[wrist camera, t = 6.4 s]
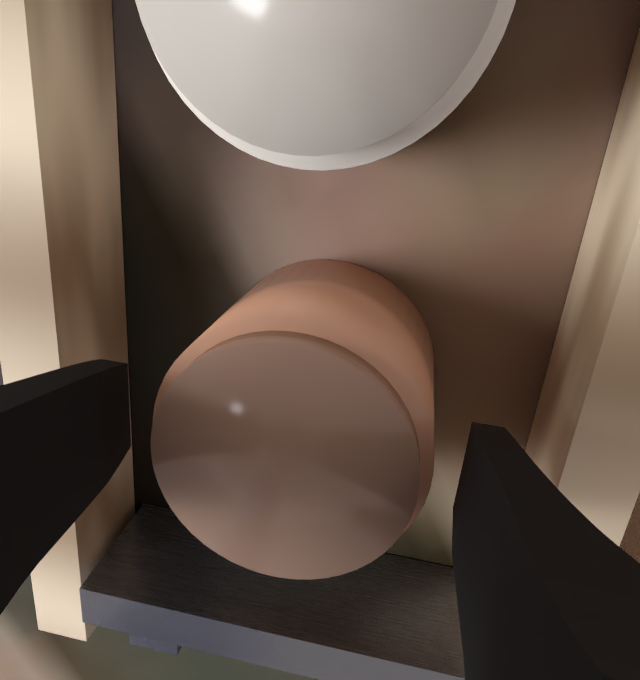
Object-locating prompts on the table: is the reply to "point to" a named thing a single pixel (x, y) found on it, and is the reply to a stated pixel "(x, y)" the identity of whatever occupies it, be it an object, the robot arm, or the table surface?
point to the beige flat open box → (109, 286)
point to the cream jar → (323, 70)
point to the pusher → (275, 608)
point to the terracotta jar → (301, 423)
